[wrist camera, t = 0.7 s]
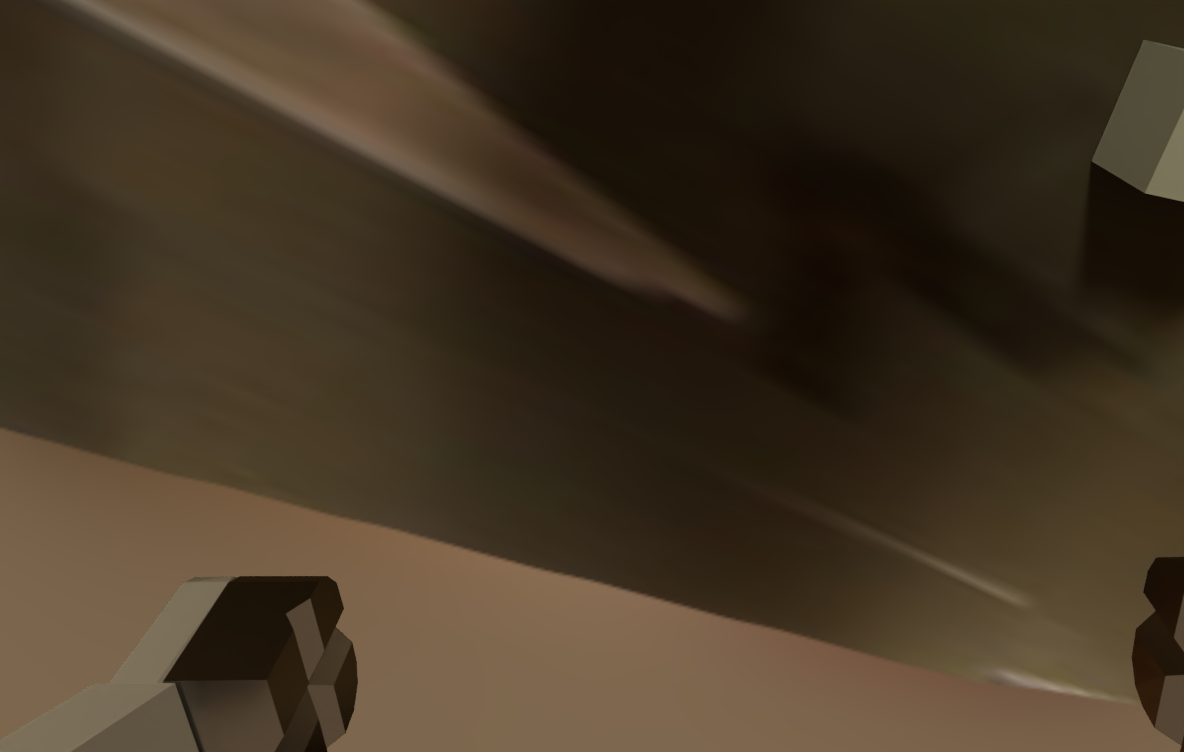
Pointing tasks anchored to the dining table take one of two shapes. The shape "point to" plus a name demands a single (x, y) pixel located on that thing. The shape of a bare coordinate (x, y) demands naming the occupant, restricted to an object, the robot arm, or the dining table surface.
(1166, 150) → the sage green cube
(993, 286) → the dining table surface
